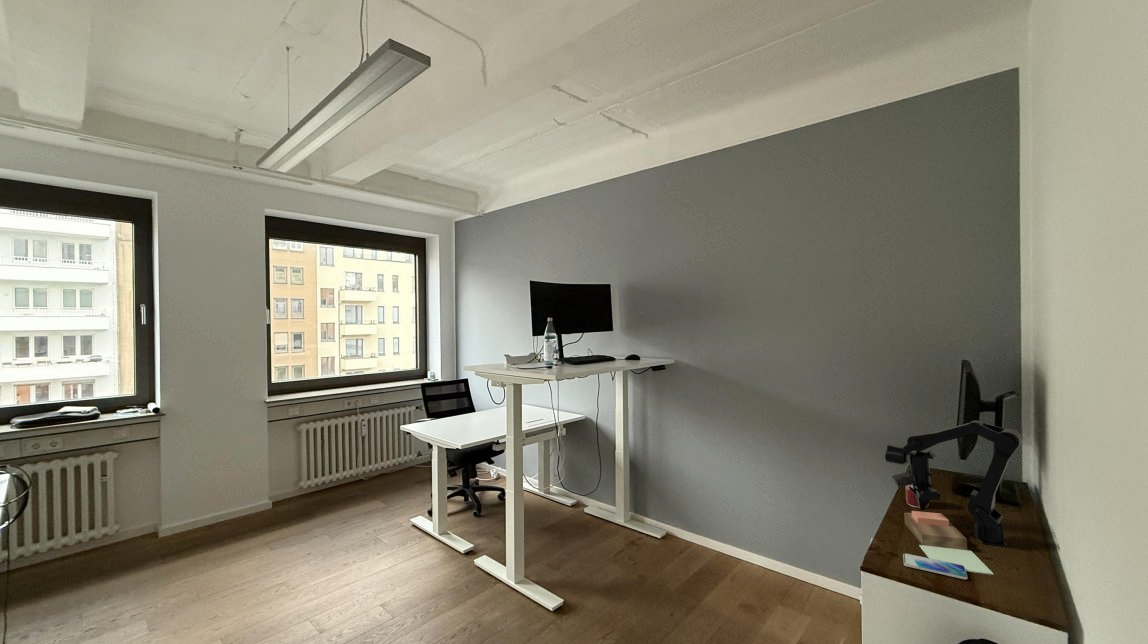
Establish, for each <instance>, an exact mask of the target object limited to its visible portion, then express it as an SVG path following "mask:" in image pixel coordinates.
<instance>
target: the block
mask: <svg viewBox="0 0 1148 644" xmlns="http://www.w3.org/2000/svg"><path fill="white" fill-rule="evenodd" d="M911 513H912V517H913V518H914V519H915V520H916V522H917V523H920V524H930V525H940V526H949V522H950V520H949V519H948V518H947V517H946V516H945V515H944V514H943V513H938V512H927V511H918V510H911Z"/></svg>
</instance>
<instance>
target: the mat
mask: <svg viewBox="0 0 1148 644" xmlns="http://www.w3.org/2000/svg"><path fill="white" fill-rule="evenodd" d="M919 548H921V550H922V551H923V553H924V555H926V557H927V558H930V559H935V560H940V561H945V562H949V563H954V564H959V565H963V566H964V567H965V570H966V573H967V572H970V573H976V574H983V575H991V576H992V575H993V576H994V575H995V574H994V573H993V571H992V570H991V569H990V568H989V567H988V566H987V565H985V563H984V562H983V561H982V560H981V559H980V558H979V557H978V556H977V555H976V554H975V553H974V552H973V551H972V550H969V549H967V550H960V549H951V548H942V547H933V546H925V545H922V544H919Z"/></svg>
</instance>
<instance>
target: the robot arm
mask: <svg viewBox="0 0 1148 644" xmlns="http://www.w3.org/2000/svg"><path fill="white" fill-rule="evenodd" d="M972 435H977V436H980V437H981V438H983V439H985V440H987V441H990V442H992V443H994V445H993V446H994V447H993V456H992V459H991V462H990V464H989V466H988V469H987V471H986V475H985V476H984V479H983V481H982V484H981V486H980V489H979V491H978V490H976V489H973V490H972V492H970V494H969V499H968V501H967V503H965V505H968V506H967V511H968V513H969V514H970V515H971V516H972V517H974V520H975V523H974V524H973V527H974V528H973V529H974V530H973V531H974V532H973V533H974V534H973V536H974V537H975V538H976V539H978V541H979V542H981V543H982V544H984V545H992V546H1000V547H1008V544H1007V543H1006V542H1005V535H1004V533H1005V532H1004V525H1003V524H1002V523H1001V522H1002V520H1003V518H1004V516H1003V515H1002V513H1001V512H1000V511H998V510H997V509H996V508H995V505H996V493H997V490H998V488H999V485H1000V483H1001V481H1002V479H1003V476H1004V473H1005V471H1006V469H1007V467H1008V465H1009V461H1010V460H1011V458H1012V456H1013V455H1014V454H1015V453H1016V451H1017V450H1018V448H1019V447H1020V446H1021V444H1023V440H1024V437H1023V436H1022V434H1021V433H1020V432H1019V431H1017V430H1015V429H1012V428H1002V427H1000V426H997V425H992V424H988V423H985V422H983V421H980V420H972V421H970V422H967V423H964V424H960V425H956V426H953V427H949V428H944V429H941V430H937V431H929V432H928V431H927V432H926V431H925V432H917V433H914V434H913V435H911V436H909V437H908V438H907V441H906V442H907V444H906V445H903V446H897V445H893V444H887V445H886V451H885V455H884V457H885V462H886V463H889V464H895V465H901V466H906V464H909V463H910V466H909V468H908V469H907V472H904V473H898V474H895V475H894V474H893V475H892V477H891V478H892V479H893V481H894V484H895V486H897V488H904V487H906V486H908V485H911V487H909V489H910V490H911V491H912V492H913V493H914V494H915V496H916V499H917V502H918V505H919V508H918V509H919V510H920V511H925V509H927V508H926V506H927V504H928V503H929V504H930V501H931V500H932V501H941V497H942V496H941V493H939V492H938V491H937V490H936V489H935V488H933V484H932V483H931V477H932V476H933V473H932V472H931V471H930V470H931V469H930V460H934V459H936V458H937V455H936V454H935V453H933V452H932V451H931V450H928V451H927V452H926V451H925V450H927V449H929V448H931V447H934V446H936V445H938V444H940V443H944V442H948V441H952V440H956V439H960V438H964V437H969V436H972ZM914 451H915V452H914Z"/></svg>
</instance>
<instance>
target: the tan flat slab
mask: <svg viewBox="0 0 1148 644" xmlns="http://www.w3.org/2000/svg"><path fill="white" fill-rule="evenodd" d="M903 514H904V524H905V526H906V527H907V528H908V530H909V531H910V532H911V533H912V534H913V535H914V537H915V539H916V540H917V541H918V542H919V543H920V545H925V546H933V547H942V548H951V549H960V550H968V538H966V537H965V536H964V535H963V533H961V532H960V531H959V529H957V528H956V527H955V526H954V525H953V524H952V523H951V522H950V521H949V526H940V525H930V524H920V523H917V522H916V520H915V519H914V518H913V517H912V512H904V513H903Z"/></svg>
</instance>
